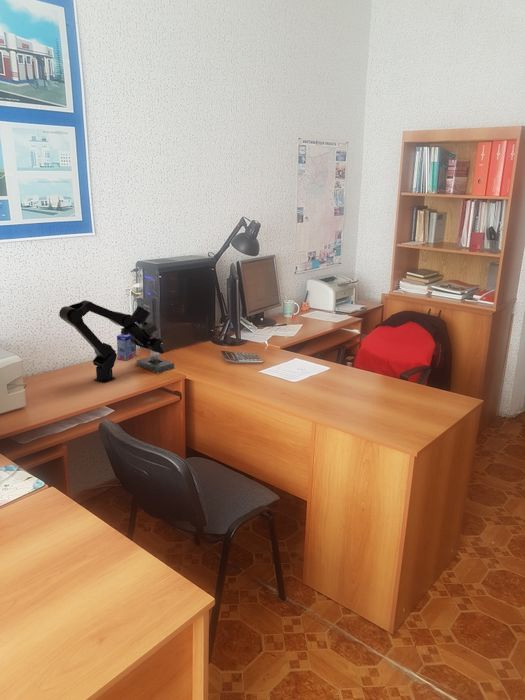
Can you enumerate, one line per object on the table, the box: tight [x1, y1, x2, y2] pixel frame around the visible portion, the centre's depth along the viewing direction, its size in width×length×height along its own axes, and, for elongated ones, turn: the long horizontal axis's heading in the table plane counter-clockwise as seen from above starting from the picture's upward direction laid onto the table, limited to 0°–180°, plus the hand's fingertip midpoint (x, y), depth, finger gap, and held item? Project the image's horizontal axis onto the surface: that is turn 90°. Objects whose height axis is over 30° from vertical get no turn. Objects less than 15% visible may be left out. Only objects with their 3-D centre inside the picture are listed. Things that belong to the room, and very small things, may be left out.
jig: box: [136, 356, 175, 374], centre depth 263 cm, size 10×16×2 cm, turn 46°
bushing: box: [149, 349, 160, 364], centre depth 262 cm, size 4×4×13 cm
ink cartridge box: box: [116, 333, 137, 361], centre depth 275 cm, size 10×6×14 cm, turn 163°
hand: (157, 350), depth 262 cm, fingers open, 9 cm apart
